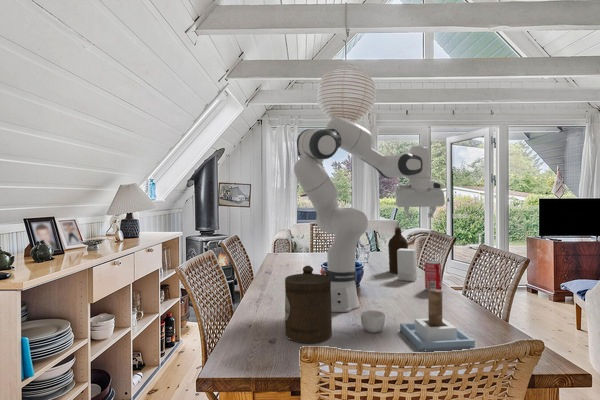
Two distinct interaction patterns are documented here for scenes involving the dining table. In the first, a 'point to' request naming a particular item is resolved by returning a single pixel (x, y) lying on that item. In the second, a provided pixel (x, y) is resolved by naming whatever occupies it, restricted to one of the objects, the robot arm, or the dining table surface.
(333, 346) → the dining table surface
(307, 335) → the wooden container
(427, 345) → the tray
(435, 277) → the soda can
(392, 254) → the olive oil
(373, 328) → the teacup
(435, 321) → the peg
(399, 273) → the skincare box
